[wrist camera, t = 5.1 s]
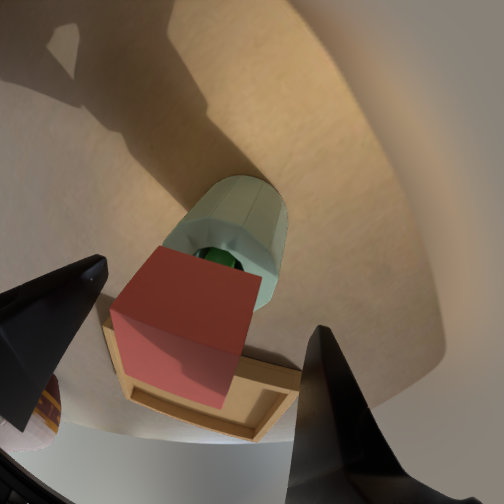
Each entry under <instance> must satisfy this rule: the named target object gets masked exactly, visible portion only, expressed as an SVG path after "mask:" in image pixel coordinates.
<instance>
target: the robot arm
mask: <svg viewBox="0 0 504 504" xmlns="http://www.w3.org/2000/svg"><path fill="white" fill-rule="evenodd" d="M107 279H108V265H107V259H106V257H104V256H102V255H99V254H95V255H92V256H90V257H87V258H85V259H82V260H79V261H77V262H74V263H72V264H69V265H67V266H64V267H62V268H60V269H57V270H55V271H52V272H50V273H47V274H45V275H43V276H40V277H38V278H36V279H33V280H31V281H29V282H26V283H24V284H22V285H19V286H17V287H15V288H13V289H10V290H8V291H6V292H3V293H0V424H1V422H2V420H3V419H5V420H7V421H8V422H9V423H10V424H11V425H13V426H14V427H15V428H16V429H18V430H19V431H20V432H22V433H23V432H24V430H25V428H26V426H27V424H28V422H29V419H30V417H31V415H32V413H33V411H34V409H35V407H36V405H37V403H38V401H39V399H40V397H41V395H42V392H43V391H44V389H45V387H46V385H47V383H48V381H49V379H50V378H51V376H52V374H53V372H54V370H55V369H56V367H57V365H58V363H59V361H60V360H61V358H62V356H63V355H64V353H65V351H66V349H67V348H68V346H69V344H70V343H71V341H72V339H73V338H74V336H75V335H76V333H77V331H78V330H79V328H80V327H81V325H82V323H83V322H84V320H85V319H86V317H87V316H88V314H89V312H90V311H91V309H92V307H93V305H94V303H95V302H96V300H97V298H98V296H99V294H100V292H101V290H102V288H103V286H104V285H105V283H106V281H107ZM367 407H368V405H367V402H366V400H365V398H364V396H363V394H362V392H361V390H360V388H359V386H358V384H357V382H356V379H355V377H354V375H353V373H352V371H351V369H350V367H349V365H348V363H347V361H346V359H345V357H344V355H343V353H342V351H341V349H340V347H339V345H338V343H337V341H336V339H335V337H334V335H333V333H332V331H331V329H330V328H329V327H327V326H323V325H318V326H317V327H316V329H315V331H314V332H313V334H312V336H311V337H310V339H309V342H308V346H307V351H306V356H305V361H304V366H303V371H302V375H301V380H300V388H299V399H298V409H297V419H296V428H295V436H294V445H293V452H292V460H291V468H290V474H289V481H288V488H287V494H286V500H285V504H482V502H480V501H479V500H478V499H476V498H475V497H469V498H467V499H463V500H456V499H452V498H450V497H447V496H445V495H444V494H442V493H440V492H438V491H436V490H434V489H432V488H430V487H428V486H427V485H425V484H423V483H421V482H419V481H417V480H416V479H414V478H412V477H411V476H410V475H408V474H407V473H406V472H405V470H404V469H403V468H402V467H401V465H400V463H399V462H398V460H397V458H396V456H395V455H394V453H393V451H392V450H391V448H390V446H389V445H388V443H387V442H386V440H385V438H384V436H383V435H382V433H381V431H380V429H379V428H378V425H377V423H376V421H375V419H374V417H373V415H372V413H371V411H370V409H369V408H367ZM27 503H29V504H75V503H73V502H72V501H70V500H69V499H67V498H65V497H64V496H62V495H61V494H59V493H58V492H56V491H55V490H53V489H52V488H50V487H49V486H47V485H46V484H45V483H43V482H42V481H41V480H39V479H38V478H36V477H35V476H34V475H32V474H31V473H30V472H29V471H27V470H26V469H25V468H24V467H22V466H21V465H20V464H19V463H17V462H16V461H15V460H14V459H13V458H12V457H11V456H9V455H8V454H7V453H6V452H5V451H4V450H3V449H2V448H1V447H0V504H27Z"/></svg>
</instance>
